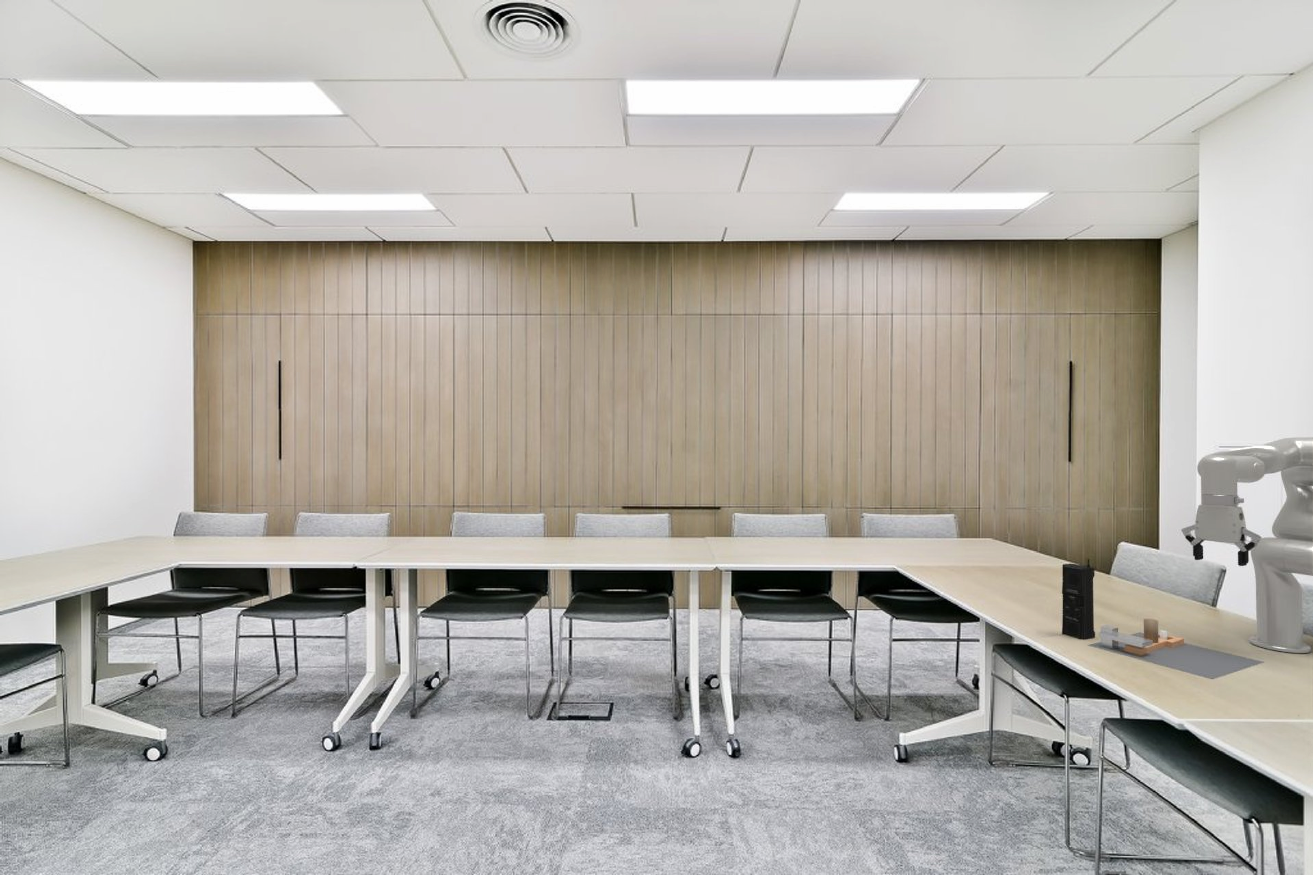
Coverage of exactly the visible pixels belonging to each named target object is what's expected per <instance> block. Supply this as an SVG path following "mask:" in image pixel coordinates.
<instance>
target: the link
mask: <svg viewBox="0 0 1313 875" xmlns="http://www.w3.org/2000/svg"><path fill="white" fill-rule="evenodd" d="M1143 633H1144V639H1149V640H1153V645H1150V646H1147V647H1143V648H1142V647H1138V646H1134V645H1131V644H1127V645H1125V651H1126V652H1130V653H1134V654H1138V655H1144V654H1147V653H1150V652H1153V651H1155V650H1158V649H1161V648H1164V647H1170V648H1175V647H1178V646H1180V645H1183V644H1184V643H1185V639H1184V638H1182V637H1177V636H1174V635H1170V634H1169V635H1168V634H1167V640H1166V639H1162V638H1160V632H1159V621H1158V620H1157V619H1153V618H1143Z"/></svg>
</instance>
